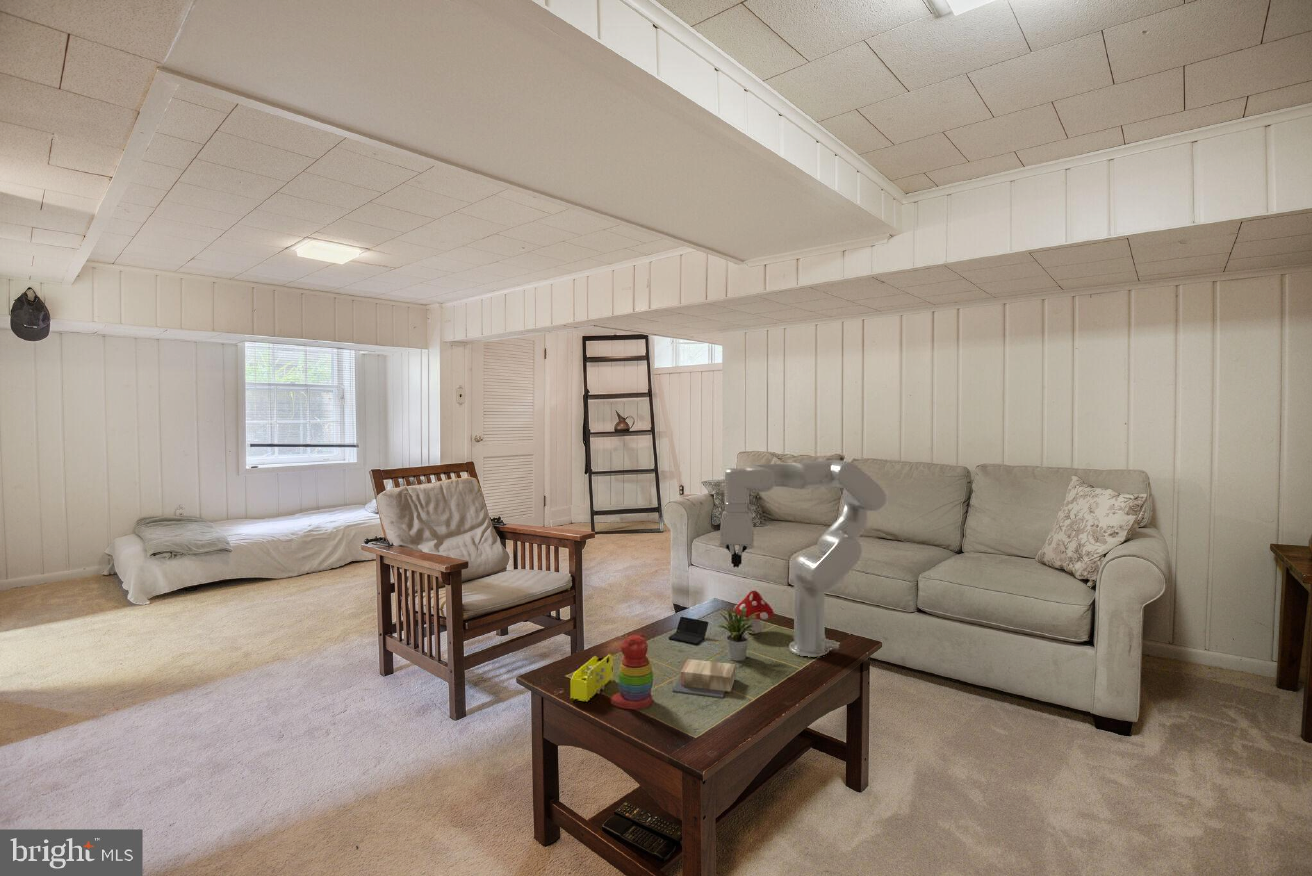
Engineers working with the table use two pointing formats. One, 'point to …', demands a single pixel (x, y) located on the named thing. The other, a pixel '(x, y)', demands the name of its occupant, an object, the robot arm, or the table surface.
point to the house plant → (737, 634)
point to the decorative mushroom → (754, 610)
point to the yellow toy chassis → (591, 678)
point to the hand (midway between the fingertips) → (736, 566)
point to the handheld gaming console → (690, 631)
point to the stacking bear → (634, 675)
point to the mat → (697, 690)
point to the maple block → (708, 675)
